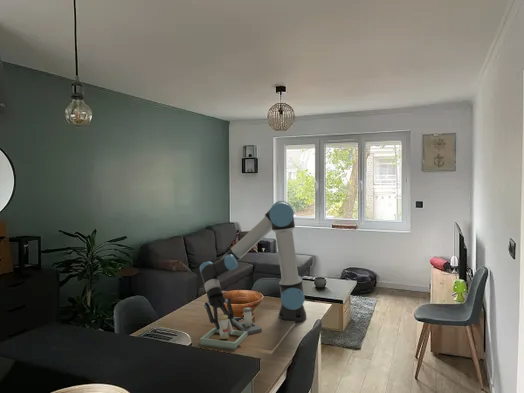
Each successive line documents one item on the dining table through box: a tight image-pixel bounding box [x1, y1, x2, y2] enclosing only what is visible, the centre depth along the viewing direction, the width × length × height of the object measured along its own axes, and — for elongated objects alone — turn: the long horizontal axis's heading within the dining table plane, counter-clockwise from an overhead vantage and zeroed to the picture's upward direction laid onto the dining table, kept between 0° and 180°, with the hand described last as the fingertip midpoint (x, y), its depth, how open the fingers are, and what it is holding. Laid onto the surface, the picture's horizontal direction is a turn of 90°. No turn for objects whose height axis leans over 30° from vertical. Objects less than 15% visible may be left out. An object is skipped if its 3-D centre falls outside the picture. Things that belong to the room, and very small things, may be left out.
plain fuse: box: [242, 306, 253, 328], centre depth 196 cm, size 4×4×10 cm
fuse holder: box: [232, 317, 263, 335], centre depth 201 cm, size 24×8×2 cm, turn 27°
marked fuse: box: [218, 314, 230, 340], centre depth 184 cm, size 4×4×10 cm
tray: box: [199, 327, 249, 351], centre depth 184 cm, size 18×14×3 cm
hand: (227, 334), depth 181 cm, fingers closed on marked fuse, 4 cm apart
